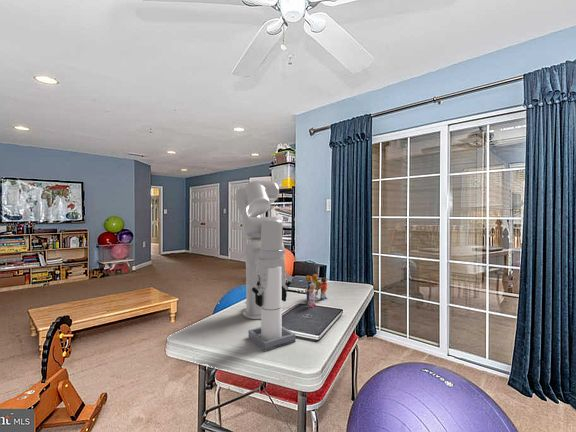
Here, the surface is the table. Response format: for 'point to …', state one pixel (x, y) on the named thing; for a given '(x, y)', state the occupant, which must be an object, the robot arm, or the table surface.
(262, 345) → the tray
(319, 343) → the table surface
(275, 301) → the cylindrical container
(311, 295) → the doll family
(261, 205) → the robot arm
